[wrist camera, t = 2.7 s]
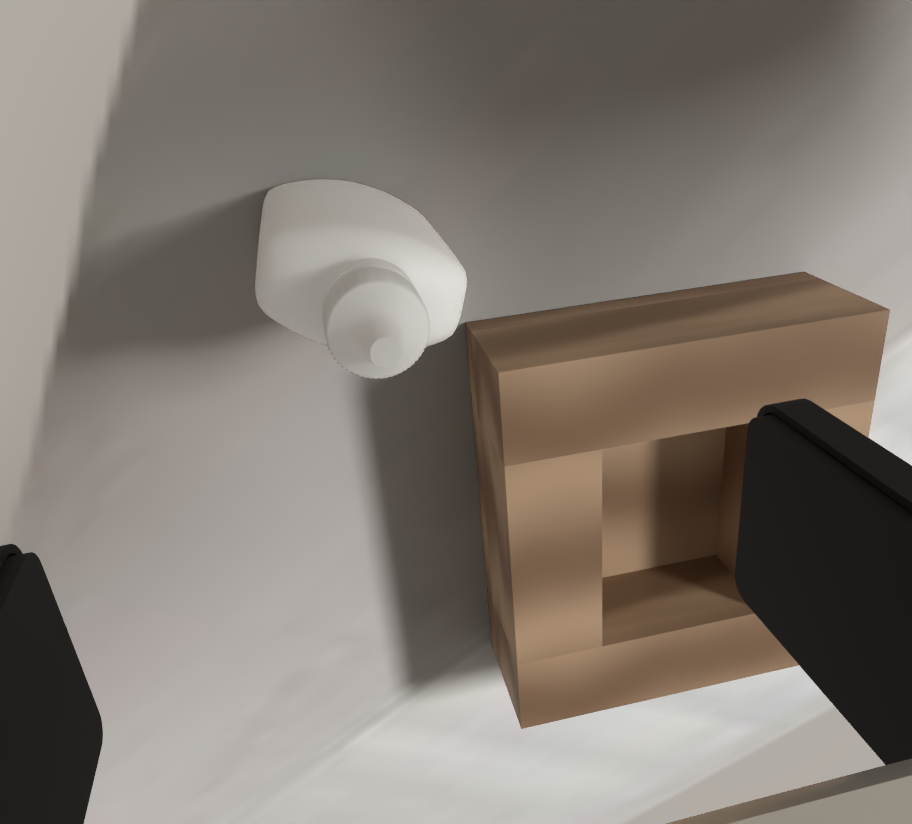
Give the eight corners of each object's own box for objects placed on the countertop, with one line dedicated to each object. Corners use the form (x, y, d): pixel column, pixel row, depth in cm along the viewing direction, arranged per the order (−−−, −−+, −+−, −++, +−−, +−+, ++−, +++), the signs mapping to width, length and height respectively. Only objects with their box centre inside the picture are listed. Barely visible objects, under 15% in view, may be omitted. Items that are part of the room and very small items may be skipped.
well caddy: (465, 322, 30) (498, 372, 25) (804, 271, 32) (890, 309, 27) (491, 645, 37) (521, 728, 32) (767, 587, 39) (830, 657, 34)
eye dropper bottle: (367, 324, 29) (419, 492, 18) (237, 228, 26) (211, 354, 16) (444, 233, 28) (546, 351, 17) (317, 124, 26) (345, 184, 15)
